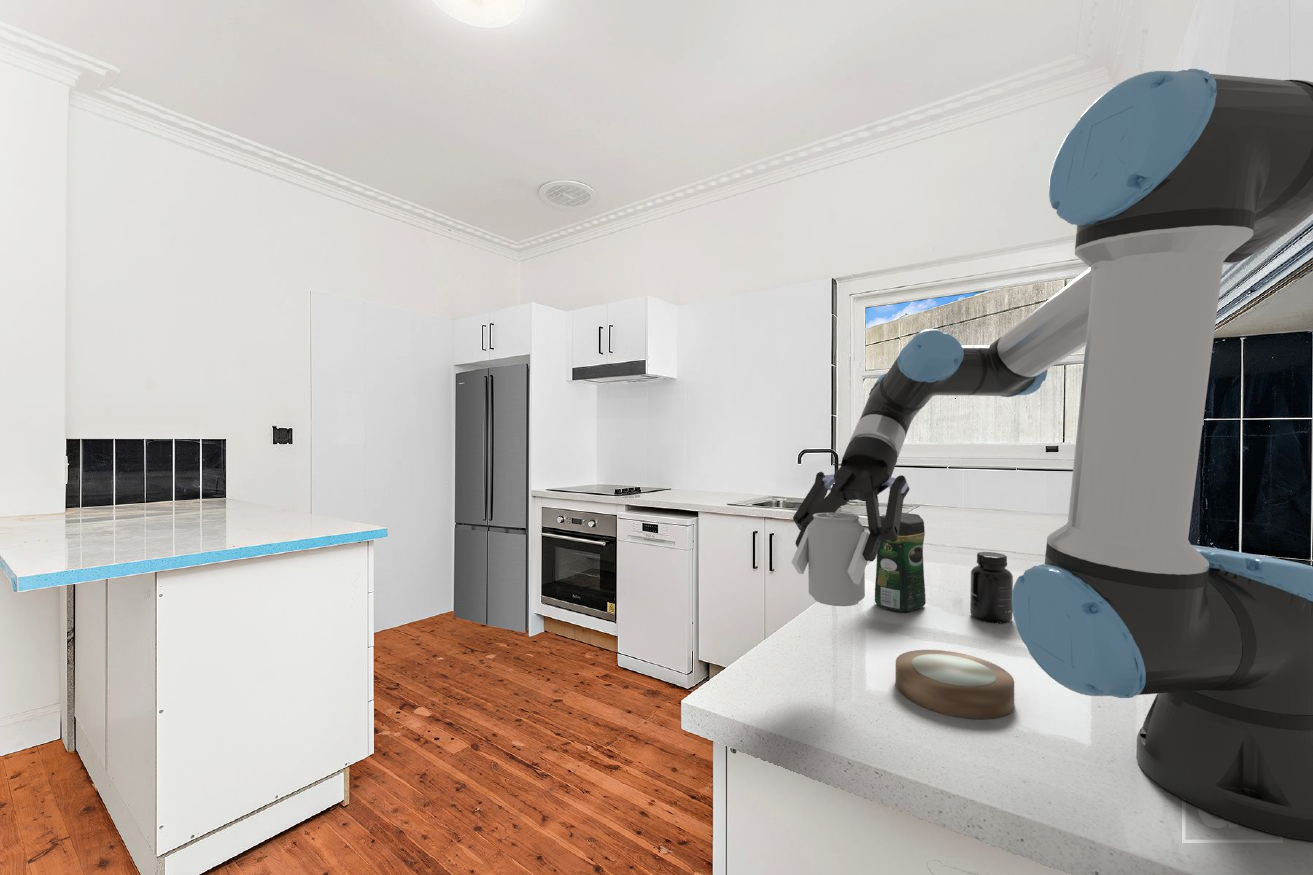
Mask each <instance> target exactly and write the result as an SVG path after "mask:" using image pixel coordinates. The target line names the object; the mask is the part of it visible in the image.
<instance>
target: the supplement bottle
mask: <svg viewBox="0 0 1313 875" xmlns="http://www.w3.org/2000/svg"><path fill="white" fill-rule="evenodd" d="M976 564H977V565H976V566H974V567H972V569H971V570H970V596H969V598H970V599H969V601H970V602H969V604H970V605H969V606H970V608H969V610H970V615H971V616H972V617H973V618H974V619H975V620H977V621H978V620H979V621H980V622H984V621H985V623H989V624H995V623H998V624H999V625H1002V624H1003V625H1004V624H1005V625H1006V624H1009V623H1010V622H1012V620H1013V610H1012V592H1013V588H1014V575H1013V574H1012V572H1011V571H1010V570H1009V569H1007V568H1006V567H1008V556H1007V555H1006V554H1003V553H999V552H994V551H979V552H977V554H976Z"/></svg>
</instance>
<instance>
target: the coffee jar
mask: <svg viewBox="0 0 1313 875" xmlns="http://www.w3.org/2000/svg"><path fill="white" fill-rule="evenodd" d="M885 516H886V514H884V515H880V521H881V527H884V522H885ZM925 531H926V530H925V521H924V519H923V518H922V517H921V516H920V514H916V513H910V512H902V514H901V521H900V528H899V535H898V539H897V541H895V542H891V541H890V540H886V541H883V542H882V543H881V544H880V546H879V549H878V552H877V555H876V571H875V581H874V582H875V583H874V584H875V585H874V603H875V604H876V605H877V606H879V607H881V608H882V609H884V608H885V609H884V610H887V609H889V610H888V611H891V610H892V611H897V612H902V611H903V613H904V612H905V611H906V612H911V611H915V610H918V609H920V608H923V607H924V606H925V605H926V584H925V574H924V573H925V571H924V570H925V569H924V542H925V534H926V532H925Z"/></svg>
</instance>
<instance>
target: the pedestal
mask: <svg viewBox="0 0 1313 875" xmlns="http://www.w3.org/2000/svg"><path fill="white" fill-rule="evenodd" d="M1014 679H1015V678H1014V677H1013V676H1012V675H1011V674H1010V673H1009V671H1007V670H1006V669H1004V668H1002V667H1001V666H999V665H997V664H995V663H993V662H990V661H988V660H985V659H983V658H980V657H977V656H973V655H969V654H966V653H961V652H955V651H951V650H948V651H947V650H942V649H941V650H939V649H917V650H915V649H914V650H910V651H906V652H903V653H901V654H899V655H898V656H897V657H896V659H895V679H894V680H895V682H894V683H895V687H896V689H897V691H898V692H899V693H900V694H901V695H902V696H903V697H905V699H908V700H909V701H910V702H912V703H914V704H917V705H919V706H921V707H922V708H925V709H928V710H930V711H933V712H937V713H940V714H943V715H947V716H952V717H957V718H963V719H964V718H965V719H972V720H973V719H974V720H988V719H987V718H992V719H998V718H1002V716H1003V717H1006V716H1008V715H1010V714H1011V713H1012V712H1013V711H1014V709H1015V680H1014ZM1010 712H1011V713H1010ZM1005 715H1006V716H1005ZM977 718H978V719H977ZM985 718H986V719H985Z"/></svg>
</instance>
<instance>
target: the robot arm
mask: <svg viewBox="0 0 1313 875" xmlns="http://www.w3.org/2000/svg"><path fill="white" fill-rule="evenodd" d="M1048 198H1049V202H1050V206H1051V208H1052V209H1053V210H1056V214H1057V217H1059V218H1060V219H1062V220H1064V221H1065V222H1067V223H1068V224H1070V225H1075V226H1076V234H1075V242H1074V244H1075V245H1074V256H1076V257H1077V258H1078V259H1079V260H1081V261H1082V262H1083V263H1084V264H1086V265H1087V266H1088V267H1089V268H1088V269H1087V270H1085V271H1084V272H1083V273H1081V274H1080V275H1078V277H1076V278H1075V279H1073V280H1072V281H1070V282H1069V283H1068V284H1067V285H1066V286H1065V287H1063V288H1062V289H1060V290H1059V291H1058V292H1057V293H1055V294H1053V296H1051V297H1050V298H1049V299H1048V300H1047V301H1045V302H1044V303H1042V304H1041V305H1040V306H1038V307H1037V308H1036V309H1035V310H1034V311H1032V312H1031V313H1030V314H1028V315H1027V316H1026V317H1025V318H1023V319H1022V320H1021V321H1020V322H1018V323H1017V324H1016V325H1014V326H1013V327H1011V329H1009V330H1008V331H1006V332H1005V333H1004V334H1003V335H1002V336H1000V337H999V338H997V339H996V340H994V341H992V343H991V344H987V345H962V344H961V343H960V341H959V340H958V339H957V338H956V337H955V336H953V335H952V334H950V333H948V332H942V331H941V330H939V329H936V328H935V329H934V328H929V329H928V328H927V329H924V330H922V331H919V332H918V333H916V334H915V335H914V336H913V337H912V339H910V341H908V343H907V344H906V345H905V346H904V347H902V349H901V351H900V352H899V354H898V356H897V358H896V359H895V361H894V362H893V364H892V365H891V367H890V368H889V370H888V371H887V372H886V373H883V374H882V375H880V376H879V377H878V378H877V380H876V382H875V383H874V385H873V387H872V388H871V389H870V391H869V393H868V398H867V401H866V403H865V406H864V408H863V411H862V413H861V415H860V418H859V420H858V422H857V423H856V426H855V428H854V430H853V433H852V434H851V437H850V439H849V443H848V444H847V447H846V449H845V452H844V453H843V456H842V459H841V463H840V467H839V468H838V469H837V470H836V471H835V472H834V474H826V475H825V473H824V472H823V471H819V472H817V473H816V475H815V480H814V483H813V485H812V487H811V488H810V489H809V491H808V493H807V494H806V496H805V497H804V499H803V501H802V502H801V504H800V505H799V507H798V508H797V510H796V512H795V513H794V515H793V516H792V520H793V522H794V523H795V525H796V527H797V528H798V530H799V533H798V535H797V538H796V540H795V546H796V550H795V553H794V556H793V558H792V560H791V564H792V566H793V567H794V569H795V570H796V572H797V574H799V575H800V574H801V575H804V574H805V571H806V569H807V567H808V525H809V524H810V523H811V522H812V521H813V520H814V517H813V515H814V514H817V513H837V511H838V509H840V508H841V507H842V506H843V507H844V506H846V505H847V504H848V503H849V502H850V501H861V502H865V509H866V516H867V517H866V518H867V525H868V526H867V529H868V531H864V532H862V534H861V536H860V539H859V542H858V544H857V547H856V550H855V553H854V555H853V558H852V561H851V563H850V566H849V569H848V571H847V572H848V574H849V576H850V577H851V579H852V581H853V583H854V584H860V581H861V579H862V576H863V573H864V570H865V571H866V567H867V564H868V562H874V561H875V559H877V552H878V549H879V546H880V544H881V543H882V542H883V541H886V540H890V541H891V542H895V541H897V539H898V535H899V528H900V521H901V514H902V513H903V512H902V511H903V505H904V500H905V498H906V497H907V495H908V493H909V492H910V486H909V484H908V481H907V479H906V477H905V476H904V475H902V474H901V475H898V476H897V477H893V474H894V471H895V468H896V465H897V462H898V458H899V456H900V453H901V451H902V448H903V446H904V442H905V440H906V437H907V434H908V431H909V429H910V426H911V423H912V422H913V419H914V418H915V417H916V416H917V415H918V413H919V412H920V411H921V410H922V409H923V408H924V407H925V406H926V405H927V403H928V402H929V401H930V400H931V399H932V397H934V396H959V397H960V396H975V397H976V396H981V397H982V396H984V397H986V396H987V397H988V396H989V397H991V396H992V397H1004V398H1010V397H1016V396H1026V395H1032V394H1034V393H1035V392H1036V391H1038V390H1039V389H1040V388H1041V386H1042V384H1043V382H1044V381H1046V379H1047V375H1048V370H1049V369H1050V368H1052V367H1053V366H1055V365H1057V364H1058V363H1060V362H1062V361H1063V360H1065V359H1066V358H1068V357H1070V356H1071V355H1073V354H1074V353H1076V352H1078V351H1079V350H1081V349H1082V348H1084V347H1085V348H1084V358H1083V367H1082V376H1081V388H1080V399H1079V407H1078V415H1077V416H1078V418H1077V426H1076V428H1077V429H1076V437H1075V448H1074V458H1073V467H1072V478H1071V488H1070V497H1069V498H1070V499H1069V508H1068V516H1067V517H1068V518H1067V523H1066V524H1064V525H1063V526H1061V527H1059V528H1058V529H1056V530H1055V531H1052V532H1051V533H1049V535H1047V537H1046V538H1047V539H1046V546H1045V548H1046V549H1045V554H1044V555H1045V556H1044V564H1040V565H1034V566H1032V567H1030V568H1028V569H1026V570H1025V571H1024V572H1023V574H1022V575H1019V576H1018V577H1017V579H1016V581H1015V582H1014V584H1013V592H1012V610H1013V615H1012V617H1013V618H1014V619H1013V620H1014V623H1015V626H1016V630H1017V632H1018V635H1019V637H1020V639H1021V641H1022V642H1023V644H1024V645H1025V646H1026V649H1027V650H1028V653H1029V655H1030V656H1031V657H1032V659H1033V660H1034V661H1035V663H1036V664H1037V665H1038V667H1040V669H1041V670H1043V672H1045V673H1046V675H1048V676H1049V677H1050V678H1051V679H1053V681H1055V682H1056V683H1058V684H1059V685H1061V686H1063V687H1064V688H1066V689H1068V690H1070V691H1072V692H1075V693H1077V694H1080V695H1084V696H1087V697H1088V696H1089V697H1114V698H1119V699H1130V698H1131V699H1133V698H1134V697H1136V696H1142V695H1155V694H1156V695H1155V698H1154V699H1153V701H1152V704H1151V705H1150V707H1149V710H1148V712H1147V714H1146V717H1145V719H1144V721H1143V725H1142V727H1141V728H1140V729H1139V730H1138V732H1137V736H1136V757H1135V758H1136V762H1137V763H1138V766H1139V767H1140V769H1141V770H1142V771H1143V772H1144V773H1145V774H1146V775H1147V776H1148V777H1149V778H1150V779H1151V780H1152V781H1153V782H1155V783H1157V784H1158V785H1159V786H1160V787H1162V788H1163V789H1165V790H1166V791H1168V792H1170V793H1171V794H1173V795H1174V796H1177V797H1178V798H1180V799H1181V800H1183V799H1184V801H1185V800H1186V802H1187V801H1189V802H1191V803H1192V804H1191V803H1190V804H1191V805H1193V806H1195V807H1198V808H1200V809H1202V810H1204V811H1206V812H1209V813H1211V814H1213V815H1215V816H1218V817H1220V818H1223V819H1226V820H1229V821H1231V822H1234V823H1237V824H1239V825H1243V826H1245V827H1249V828H1253V829H1256V830H1258V831H1259V830H1260V831H1262V832H1266V833H1270V834H1274V835H1279V836H1281V837H1286V838H1292V839H1297V840H1305V841H1312V842H1313V566H1312V565H1308V564H1305V563H1301V562H1296V561H1291V560H1285V559H1280V558H1276V557H1270V556H1264V555H1258V554H1253V553H1247V552H1241V551H1236V550H1235V551H1233V550H1230V549H1229V550H1228V549H1222V548H1217V547H1210V546H1201V545H1195V544H1191V542H1190V541H1189V534H1190V528H1191V527H1190V526H1191V519H1192V511H1193V503H1194V497H1195V486H1196V479H1197V471H1198V465H1199V464H1198V463H1199V455H1200V449H1201V441H1202V433H1203V432H1202V431H1203V425H1204V416H1205V408H1206V400H1207V394H1208V386H1209V377H1210V368H1211V361H1212V353H1213V345H1214V338H1215V329H1216V321H1217V316H1218V315H1217V314H1218V305H1219V299H1220V298H1219V297H1220V291H1221V282H1222V281H1221V280H1222V277H1223V276H1222V275H1223V274H1222V273H1223V267H1224V265H1234V264H1238V263H1241V262H1242V261H1244V260H1247V259H1248V258H1249V257H1251V256H1253V255H1254V254H1257V253H1258V252H1259V251H1262V249H1265V248H1266V247H1268V246H1270V245H1271V244H1273V243H1274V242H1276V241H1278V240H1279V239H1281V238H1282V237H1283V236H1286V235H1287V234H1288V233H1290V232H1291V231H1292V230H1294V229H1295V228H1296V227H1298V226H1299V225H1300V224H1302V223H1303V222H1304V221H1305V220H1307V219H1309V217H1310V216H1312V215H1313V81H1309V80H1304V79H1303V80H1302V79H1301V80H1300V79H1277V78H1264V77H1253V76H1241V75H1239V76H1238V75H1229V74H1228V75H1227V74H1217V73H1210V71H1206V70H1203V69H1197V68H1190V69H1189V68H1188V69H1187V70H1186V69H1183V70H1182V69H1181V70H1178V71H1175V70H1174V71H1172V70H1155V71H1154V70H1153V71H1148V72H1147V71H1146V72H1143V73H1139V74H1137V75H1134V76H1132V77H1130V78H1126V79H1124V80H1123V81H1121V82H1119V83H1117V84H1116V85H1114V86H1113V87H1112V88H1110V89H1108V90H1107V91H1106V92H1104V93H1103V94H1102V95H1101V96H1099V97H1098V98H1097V99H1096V100H1095V101H1094V102H1093V103H1092V104H1091V105H1090V106H1088V108H1087V109H1086V110H1085V111H1084V112H1083V113H1082V114H1081V116H1080V117H1079V119H1078V120H1077V122H1076V124H1075V125H1074V127H1073V128H1071V129H1070V130H1069V132H1068V134H1067V135H1066V137H1065V138H1064V140H1063V141H1062V144H1061V145H1060V148H1059V149H1058V151H1057V154H1056V156H1055V158H1054V160H1053V163H1052V168H1051V171H1050V175H1049V181H1048ZM888 488H889V492H888V493H889V494H888V498H887V499H888V500H887V505H886V513H885V515H886V516H885V522H884V527H881V521H880V516H881V514H880V508H879V507H880V504H879V498H878V495H879V494H881V493H882V492H884V491H885V490H887V489H888ZM828 491H830V492H828ZM1189 802H1188V803H1189Z"/></svg>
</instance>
